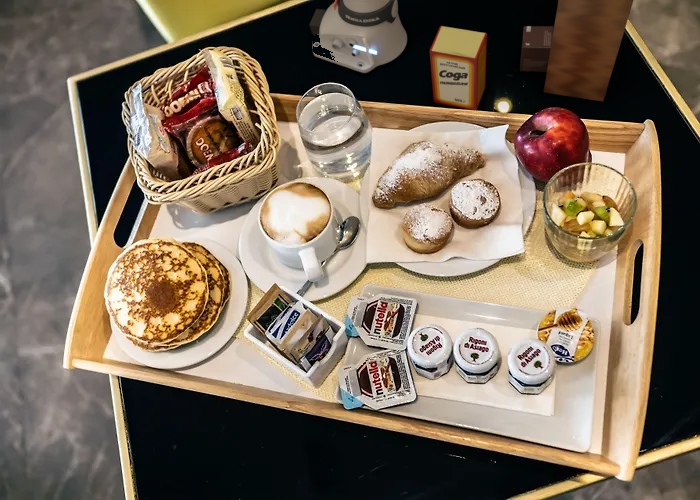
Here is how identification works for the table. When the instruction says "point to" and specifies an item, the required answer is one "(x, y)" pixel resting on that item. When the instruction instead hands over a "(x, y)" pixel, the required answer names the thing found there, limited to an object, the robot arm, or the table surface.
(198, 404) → the table surface
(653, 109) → the table surface
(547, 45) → the box
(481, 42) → the baking soda box
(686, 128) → the table surface
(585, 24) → the wooden high-back chair
